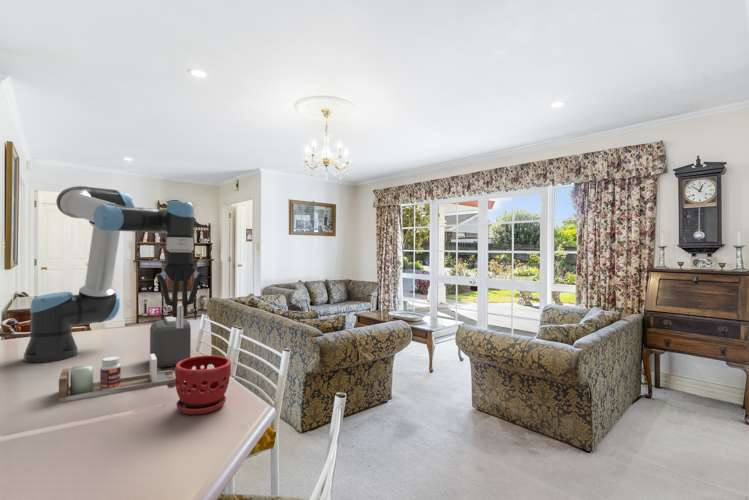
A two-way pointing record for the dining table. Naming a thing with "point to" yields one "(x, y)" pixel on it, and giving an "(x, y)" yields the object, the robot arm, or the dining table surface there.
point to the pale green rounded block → (81, 379)
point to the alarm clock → (170, 341)
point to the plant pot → (202, 383)
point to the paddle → (155, 370)
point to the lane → (125, 385)
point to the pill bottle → (110, 373)
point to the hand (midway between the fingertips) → (179, 327)
